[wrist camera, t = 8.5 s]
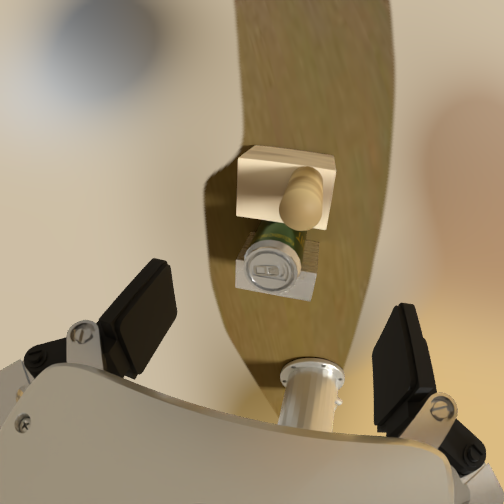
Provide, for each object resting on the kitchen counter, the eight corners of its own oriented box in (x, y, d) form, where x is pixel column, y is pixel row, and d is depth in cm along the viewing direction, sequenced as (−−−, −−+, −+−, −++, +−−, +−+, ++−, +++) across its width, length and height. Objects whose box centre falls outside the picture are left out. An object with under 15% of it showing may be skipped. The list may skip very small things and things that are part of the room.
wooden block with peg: (326, 204, 33) (324, 270, 21) (252, 193, 34) (211, 251, 23) (333, 155, 30) (340, 197, 18) (255, 145, 31) (210, 179, 19)
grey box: (314, 267, 38) (310, 301, 32) (249, 256, 40) (235, 287, 34) (319, 242, 36) (316, 273, 30) (251, 231, 37) (236, 259, 32)
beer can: (267, 235, 37) (244, 293, 27) (264, 196, 34) (237, 244, 25) (308, 236, 36) (299, 297, 26) (308, 197, 33) (300, 246, 23)
